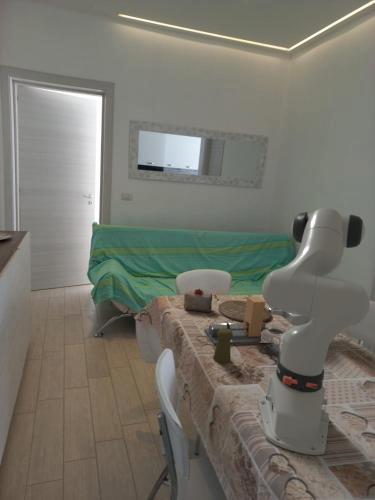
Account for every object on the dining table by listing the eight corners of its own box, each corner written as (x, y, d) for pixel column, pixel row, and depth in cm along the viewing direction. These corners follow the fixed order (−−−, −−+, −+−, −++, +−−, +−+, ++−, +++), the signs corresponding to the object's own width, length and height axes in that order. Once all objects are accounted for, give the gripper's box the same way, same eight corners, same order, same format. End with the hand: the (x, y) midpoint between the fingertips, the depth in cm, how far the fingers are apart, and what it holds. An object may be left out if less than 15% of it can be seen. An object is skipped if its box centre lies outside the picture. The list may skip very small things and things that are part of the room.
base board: (257, 329, 146) (257, 327, 146) (271, 343, 135) (271, 340, 134) (204, 331, 139) (204, 328, 139) (214, 345, 128) (214, 342, 128)
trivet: (233, 300, 182) (233, 296, 181) (278, 314, 168) (279, 310, 167) (208, 312, 162) (208, 308, 161) (257, 329, 148) (257, 325, 147)
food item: (181, 310, 160) (183, 290, 158) (183, 304, 167) (185, 285, 165) (210, 314, 159) (213, 294, 157) (211, 308, 166) (213, 288, 164)
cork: (229, 365, 115) (233, 335, 113) (212, 361, 116) (215, 331, 114) (231, 356, 121) (235, 327, 119) (214, 353, 122) (217, 324, 120)
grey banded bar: (261, 331, 142) (263, 320, 141) (266, 335, 138) (267, 324, 137) (208, 333, 135) (209, 321, 134) (211, 337, 132) (213, 325, 131)
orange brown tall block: (253, 329, 142) (258, 296, 139) (260, 336, 136) (265, 302, 133) (242, 330, 140) (247, 296, 138) (248, 336, 135) (253, 302, 132)
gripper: (287, 295, 151) (259, 295, 148) (315, 313, 132) (284, 313, 128) (285, 308, 153) (257, 308, 149) (313, 328, 133) (281, 329, 129)
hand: (269, 311), depth 138 cm, fingers closed
